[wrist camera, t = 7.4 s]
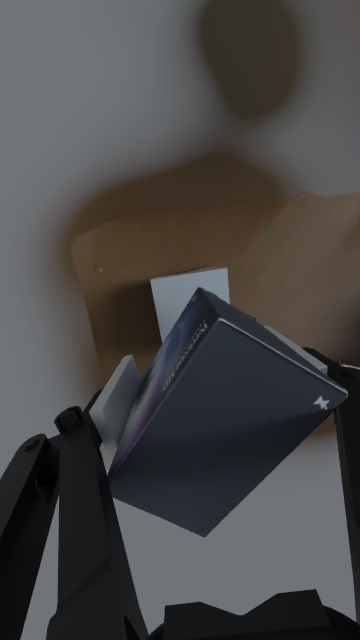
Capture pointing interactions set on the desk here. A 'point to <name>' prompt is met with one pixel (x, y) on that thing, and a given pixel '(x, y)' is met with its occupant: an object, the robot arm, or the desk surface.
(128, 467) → the small box
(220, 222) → the desk surface
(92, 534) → the robot arm
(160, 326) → the grey slab
